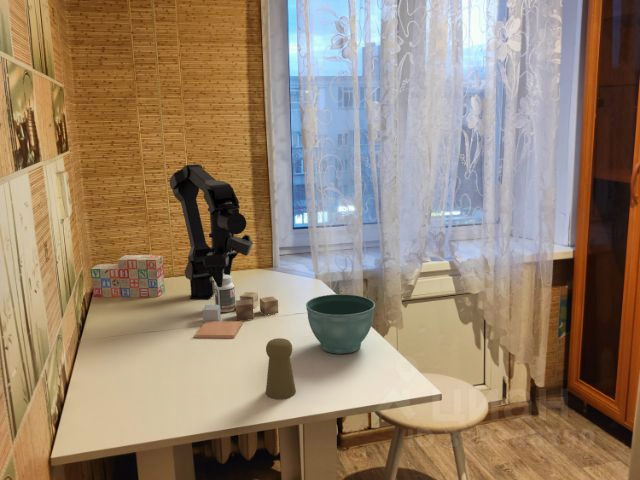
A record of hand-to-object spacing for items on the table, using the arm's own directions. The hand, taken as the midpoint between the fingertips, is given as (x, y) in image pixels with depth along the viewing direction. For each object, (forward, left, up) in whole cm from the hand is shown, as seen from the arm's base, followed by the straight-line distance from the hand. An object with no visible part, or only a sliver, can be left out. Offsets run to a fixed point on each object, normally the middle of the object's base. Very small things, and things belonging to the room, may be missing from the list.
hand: (224, 282), depth 168 cm
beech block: (+7, +2, -8) cm, 11 cm away
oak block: (+13, -2, -8) cm, 16 cm away
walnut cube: (+7, -7, -8) cm, 13 cm away
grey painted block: (-1, -10, -8) cm, 13 cm away
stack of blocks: (-35, +15, -9) cm, 39 cm away
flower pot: (+35, -27, -8) cm, 45 cm away
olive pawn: (+24, -51, -8) cm, 57 cm away
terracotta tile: (+3, -17, -8) cm, 19 cm away
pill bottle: (0, 0, -8) cm, 8 cm away
